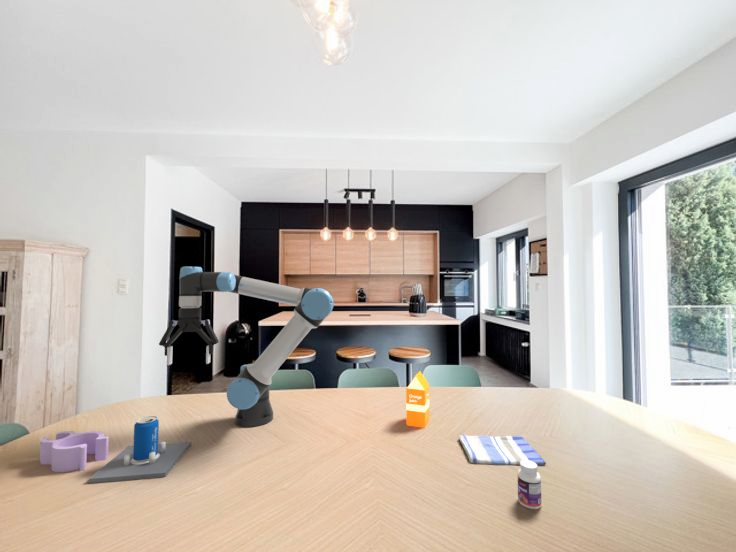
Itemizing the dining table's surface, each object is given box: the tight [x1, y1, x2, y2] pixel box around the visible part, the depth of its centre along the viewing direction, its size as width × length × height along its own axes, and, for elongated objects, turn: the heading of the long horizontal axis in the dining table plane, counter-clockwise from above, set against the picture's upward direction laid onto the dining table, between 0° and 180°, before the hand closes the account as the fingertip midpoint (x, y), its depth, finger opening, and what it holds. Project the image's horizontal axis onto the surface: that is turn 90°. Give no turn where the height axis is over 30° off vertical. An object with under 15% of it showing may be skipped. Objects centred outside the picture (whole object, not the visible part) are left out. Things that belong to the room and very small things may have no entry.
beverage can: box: [133, 415, 160, 462], centre depth 104 cm, size 6×6×12 cm
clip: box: [39, 430, 109, 473], centre depth 105 cm, size 20×12×7 cm, turn 75°
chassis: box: [88, 441, 192, 484], centre depth 104 cm, size 20×20×4 cm
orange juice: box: [405, 370, 430, 429], centre depth 135 cm, size 8×9×20 cm
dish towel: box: [457, 434, 547, 466], centre depth 110 cm, size 17×24×3 cm
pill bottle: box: [516, 460, 542, 510], centre depth 84 cm, size 5×5×10 cm
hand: (189, 363), depth 124 cm, fingers open, 13 cm apart
